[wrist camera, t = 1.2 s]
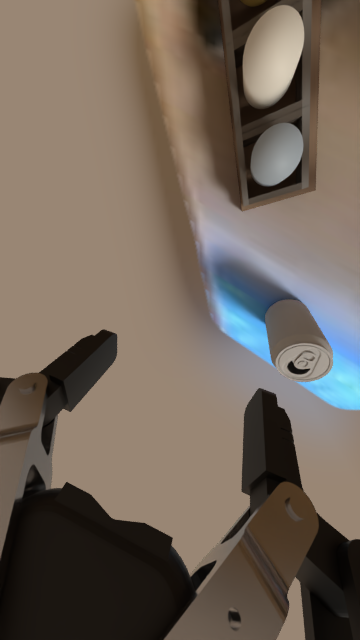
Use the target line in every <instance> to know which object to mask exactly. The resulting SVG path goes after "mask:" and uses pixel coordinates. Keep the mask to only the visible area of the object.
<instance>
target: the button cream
mask: <svg viewBox="0 0 360 640" xmlns="http://www.w3.org/2000/svg"><path fill="white" fill-rule="evenodd" d="M303 44H304V26H303V21H302V19H301V16H300V15H299V13H298V12H297V11H296V10H295V9H294V8H293V7H291V6H287V5H280V6H276V7H274V8H272V9H270V10H269V11H267V12H266V13H265V14H264V15H263V16H262V17H261V18H260V19H259V20H258V21H257V23H256V24H255V26H254V27H253V29H252V31H251V33H250V35H249V37H248V39H247V42H246V45H245V49H244V54H243V88H244V94H245V98H246V100H247V101H248V103H249V104H250V105H251V106H252V107H254V108H256V109H266V108H269V107H271V106H273V105H274V104H276V103H277V102H278V101H279V100H280V99H281V98H282V97H283V96H284V94H285V93H286V91H287V89H288V88H289V86H290V84H291V81H292V78H293V75H294V73H295V70H296V67H297V64H298V61H299V59H300V56H301V52H302V49H303Z"/></svg>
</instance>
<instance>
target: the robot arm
mask: <svg viewBox="0 0 360 640" xmlns="http://www.w3.org/2000/svg"><path fill="white" fill-rule="evenodd" d="M116 356H117V334H115V333H112V332H110V331H107V330H101V331H100V332H99V333H98V334H96V335H95V336H93V335H90V336H87V337H85V338H83V339H81V340H80V341H78V342H77V343H76V344H75V345H74V346H72V347H71V348H70V349H68V351H66V352H65V353H63V354H62V355H61V356H60V357H58V358H57V359H56V360H55V361H53V362H52V363H51V364H50V365H48V366H47V367H46V368H44V369H43V370H42V371H41V372H39V373H29V374H25V375H22V376H20V377H18V378H16V379H13V378H1V377H0V640H276V639H277V637H278V635H279V633H280V631H281V628H282V626H283V624H284V622H285V620H286V617H287V614H288V610H289V601H288V599H287V594H288V590H289V587H290V586H291V584H292V582H293V580H294V578H295V577H296V578H297V579H298V580H299V581H300V585H301V596H302V607H303V617H304V628H305V639H306V640H360V540H359V539H355V540H351V541H349V540H348V539H347V538H345V537H344V536H343V535H342V534H341V533H339V532H338V531H337V530H336V529H334V528H333V527H332V526H331V525H330V524H328V523H327V522H326V521H325V520H324V519H323V518H322V517H320V516H319V514H318V513H317V512H316V510H315V508H314V506H313V504H312V502H311V500H310V499H309V497H308V496H307V495H306V493H305V492H304V491H303V488H302V484H301V479H300V474H299V467H298V462H297V456H296V451H295V445H294V440H293V435H292V429H291V423H290V420H289V418H288V416H287V414H286V412H285V410H284V409H283V408H280V407H278V405H277V397H276V394H274V393H272V392H269V391H266V390H264V389H261V388H259V389H258V390H257V391H256V393H255V394H254V396H253V397H252V399H251V400H250V402H249V403H248V405H247V407H246V410H245V414H244V436H243V437H244V438H243V464H242V492H243V493H245V494H248V495H250V506H249V507H248V508H247V509H246V510H245V512H244V513H243V514H242V515H241V516H240V518H239V519H238V520H237V521H236V522H235V524H234V525H233V526H232V527H231V528H230V530H229V531H228V532H227V533H226V535H225V536H224V537H223V538H222V539H221V541H220V542H219V543H218V544H217V545H216V546H215V547H214V548H213V549H212V550H211V551H210V552H209V553H208V554H207V555H206V556H205V557H204V558H203V560H202V561H201V562H200V563H199V564H198V565H197V567H196V568H195V569H194V570H193V571H192V573H191V574H190V575H189V573H188V570H187V568H186V566H185V564H184V562H183V560H182V559H181V557H180V556H179V554H178V553H177V552H176V550H175V549H174V548H173V547H172V546H171V543H172V539H173V538H172V537H170V536H168V535H166V534H165V533H163V532H161V531H159V530H157V529H155V528H153V527H151V526H149V525H147V524H145V523H138V522H130V521H122V520H115V519H112V518H111V517H110V516H109V515H108V514H107V513H106V512H105V510H104V509H103V508H102V507H101V506H100V505H99V503H98V502H97V501H96V500H95V499H94V498H93V497H92V495H90V494H89V493H87V492H85V491H83V490H81V489H79V488H77V487H75V486H73V485H71V484H69V483H68V482H66V483H65V485H64V487H63V488H54V489H51V482H52V453H53V446H54V439H55V432H56V426H57V419H58V414H59V412H60V411H61V410H62V409H65V410H68V411H70V412H71V411H72V410H73V409H74V407H75V406H76V405H77V404H78V403H79V402H80V401H81V399H82V398H83V397H84V396H85V395H86V394H87V392H88V391H89V390H90V389H91V388H92V387H93V386H94V384H95V383H96V382H97V381H98V380H99V379H100V377H101V376H102V375H103V374H104V373H105V372H106V370H107V369H108V368H109V367H110V366H111V365H112V363H113V362H114V361H115V359H116Z"/></svg>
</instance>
